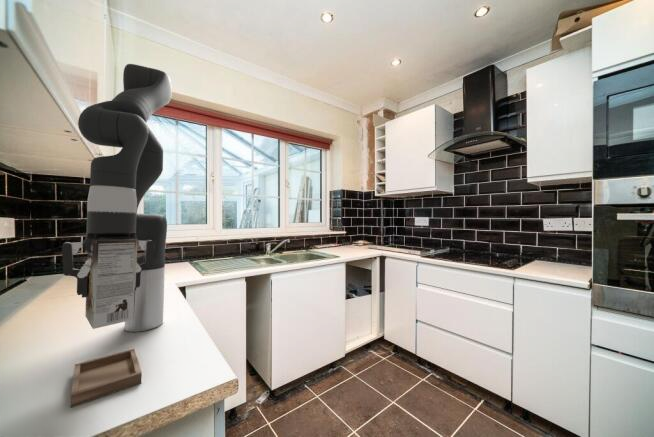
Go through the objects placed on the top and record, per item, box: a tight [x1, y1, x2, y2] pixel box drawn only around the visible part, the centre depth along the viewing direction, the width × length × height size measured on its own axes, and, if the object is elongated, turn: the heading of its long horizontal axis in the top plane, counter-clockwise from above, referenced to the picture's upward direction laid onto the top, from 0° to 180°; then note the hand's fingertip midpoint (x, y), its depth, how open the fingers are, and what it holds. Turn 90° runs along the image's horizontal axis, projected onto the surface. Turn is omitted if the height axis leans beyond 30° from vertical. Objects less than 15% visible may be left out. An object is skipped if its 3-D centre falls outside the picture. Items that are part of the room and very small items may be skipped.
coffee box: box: [84, 238, 138, 330], centre depth 50 cm, size 9×6×16 cm
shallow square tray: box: [70, 348, 142, 408], centre depth 49 cm, size 12×10×2 cm
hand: (110, 292), depth 50 cm, fingers closed on coffee box, 7 cm apart
